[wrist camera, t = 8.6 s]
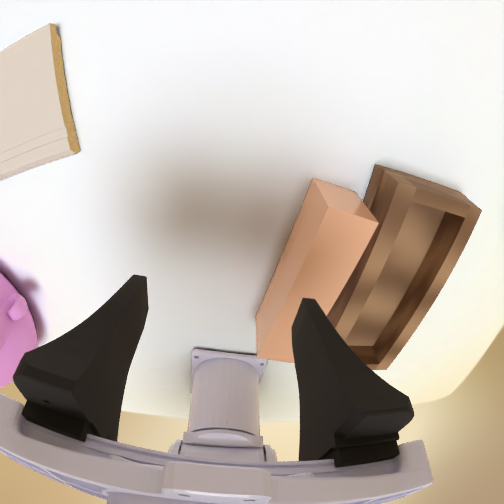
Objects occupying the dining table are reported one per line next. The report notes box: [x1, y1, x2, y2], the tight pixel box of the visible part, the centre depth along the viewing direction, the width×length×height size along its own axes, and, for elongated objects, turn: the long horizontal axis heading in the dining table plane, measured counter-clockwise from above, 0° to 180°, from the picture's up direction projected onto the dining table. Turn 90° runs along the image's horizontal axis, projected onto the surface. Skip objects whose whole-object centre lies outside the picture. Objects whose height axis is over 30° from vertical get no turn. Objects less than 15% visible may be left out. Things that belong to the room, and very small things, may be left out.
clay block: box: [256, 178, 379, 363], centre depth 23 cm, size 14×4×5 cm, turn 164°
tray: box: [327, 164, 482, 370], centre depth 24 cm, size 19×9×4 cm, turn 170°
